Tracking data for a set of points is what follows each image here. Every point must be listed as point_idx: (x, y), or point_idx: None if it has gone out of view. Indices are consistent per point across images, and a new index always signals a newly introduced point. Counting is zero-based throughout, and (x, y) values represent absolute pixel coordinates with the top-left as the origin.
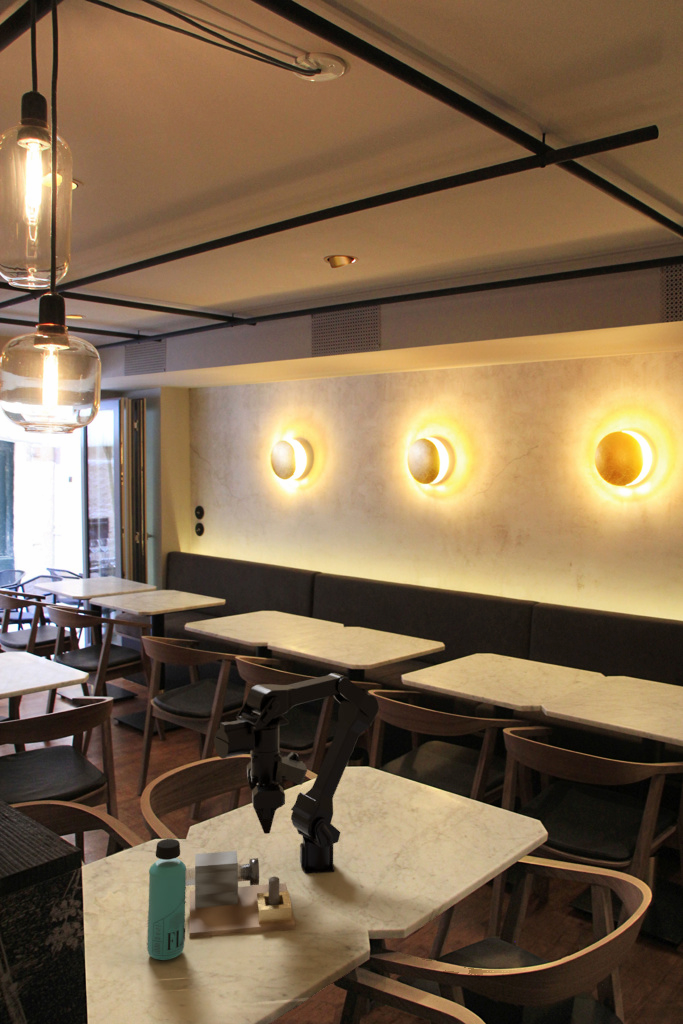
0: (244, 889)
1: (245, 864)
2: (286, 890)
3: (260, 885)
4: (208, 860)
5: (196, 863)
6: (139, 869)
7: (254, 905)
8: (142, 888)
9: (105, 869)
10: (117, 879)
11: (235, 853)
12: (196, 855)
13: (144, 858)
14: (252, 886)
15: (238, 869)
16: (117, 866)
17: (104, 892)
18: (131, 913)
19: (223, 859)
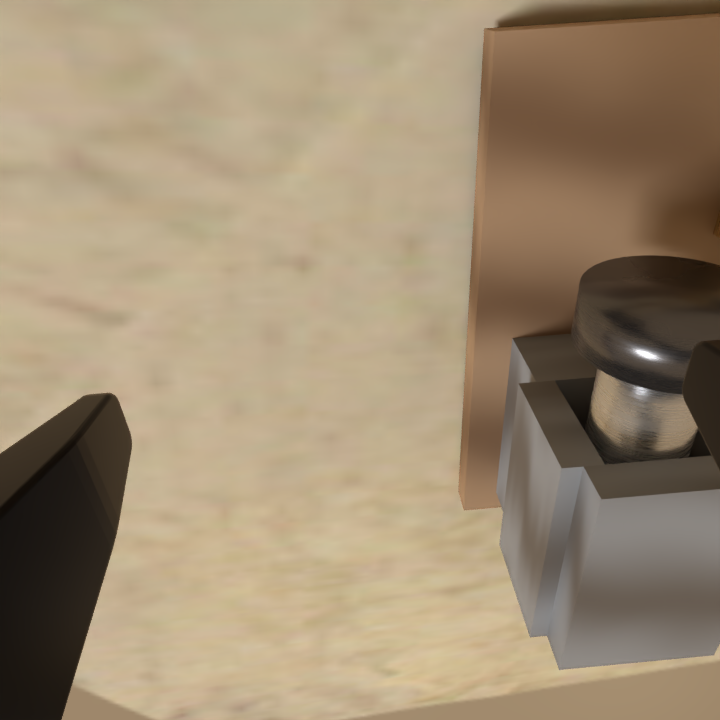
0: (509, 299)
1: (673, 400)
2: (598, 34)
3: (486, 213)
4: (671, 615)
5: (682, 654)
6: (222, 645)
7: (697, 246)
8: (370, 621)
9: (229, 712)
10: (301, 680)
11: (640, 502)
12: (581, 663)
13: (128, 644)
14: (486, 258)
15: (696, 430)
16: (204, 693)
17: (388, 691)
18: None
19: (700, 556)
